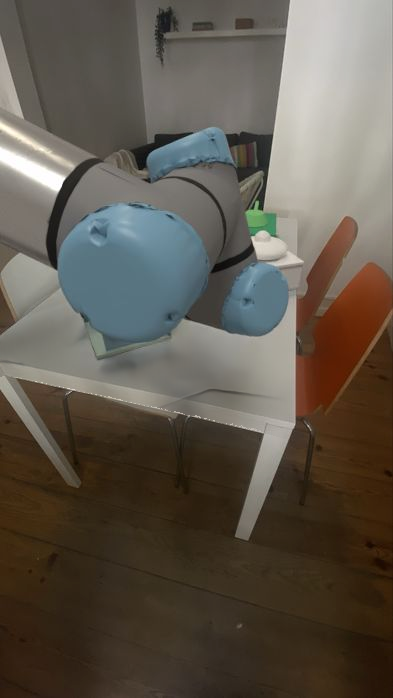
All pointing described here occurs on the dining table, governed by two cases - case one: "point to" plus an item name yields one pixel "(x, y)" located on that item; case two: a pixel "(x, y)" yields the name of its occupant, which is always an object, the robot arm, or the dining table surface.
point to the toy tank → (261, 221)
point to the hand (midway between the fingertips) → (112, 279)
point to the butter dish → (278, 257)
